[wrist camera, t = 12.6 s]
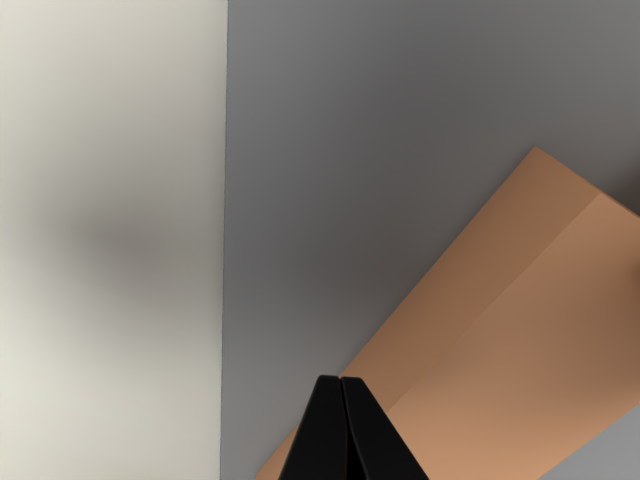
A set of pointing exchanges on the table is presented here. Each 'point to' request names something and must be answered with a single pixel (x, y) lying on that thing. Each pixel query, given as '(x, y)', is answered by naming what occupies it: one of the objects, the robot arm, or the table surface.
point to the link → (513, 334)
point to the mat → (396, 175)
